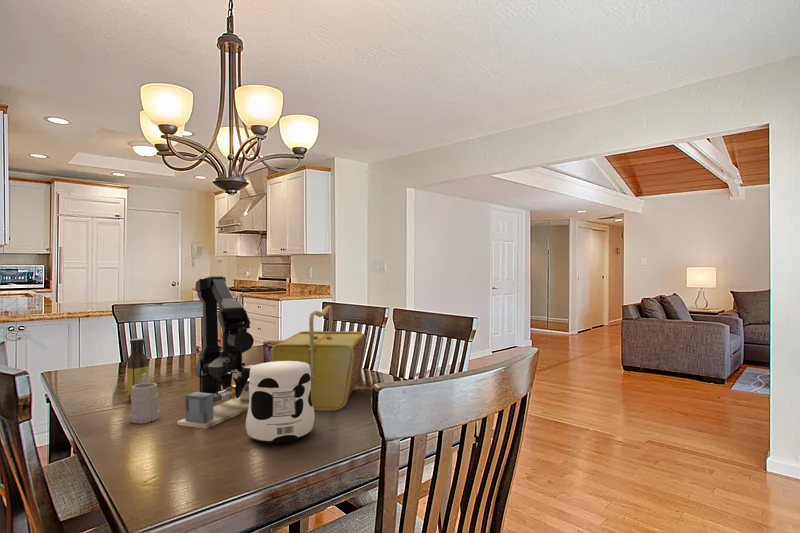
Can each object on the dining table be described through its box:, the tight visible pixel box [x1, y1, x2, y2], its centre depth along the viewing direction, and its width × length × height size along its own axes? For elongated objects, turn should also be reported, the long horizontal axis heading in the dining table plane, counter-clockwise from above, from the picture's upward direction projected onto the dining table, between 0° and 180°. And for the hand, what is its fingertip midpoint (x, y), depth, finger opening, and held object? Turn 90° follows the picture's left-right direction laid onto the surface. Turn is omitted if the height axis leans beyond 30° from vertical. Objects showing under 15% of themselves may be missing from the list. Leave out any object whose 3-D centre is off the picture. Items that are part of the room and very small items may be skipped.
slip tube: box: [213, 382, 249, 403], centre depth 149 cm, size 22×3×3 cm, turn 161°
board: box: [176, 397, 249, 430], centre depth 146 cm, size 33×10×1 cm, turn 161°
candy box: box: [262, 339, 285, 363], centre depth 182 cm, size 9×4×15 cm, turn 89°
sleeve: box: [240, 379, 249, 401], centre depth 157 cm, size 9×4×6 cm, turn 161°
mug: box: [129, 374, 161, 424], centre depth 139 cm, size 8×12×12 cm, turn 30°
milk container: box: [244, 361, 315, 444], centre depth 123 cm, size 17×17×18 cm
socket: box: [185, 391, 214, 423], centre depth 133 cm, size 4×6×7 cm, turn 71°
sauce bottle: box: [126, 337, 150, 402], centre depth 158 cm, size 6×6×20 cm
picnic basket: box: [270, 304, 367, 412], centre depth 157 cm, size 29×26×30 cm
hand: (232, 397), depth 147 cm, fingers closed on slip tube, 3 cm apart
